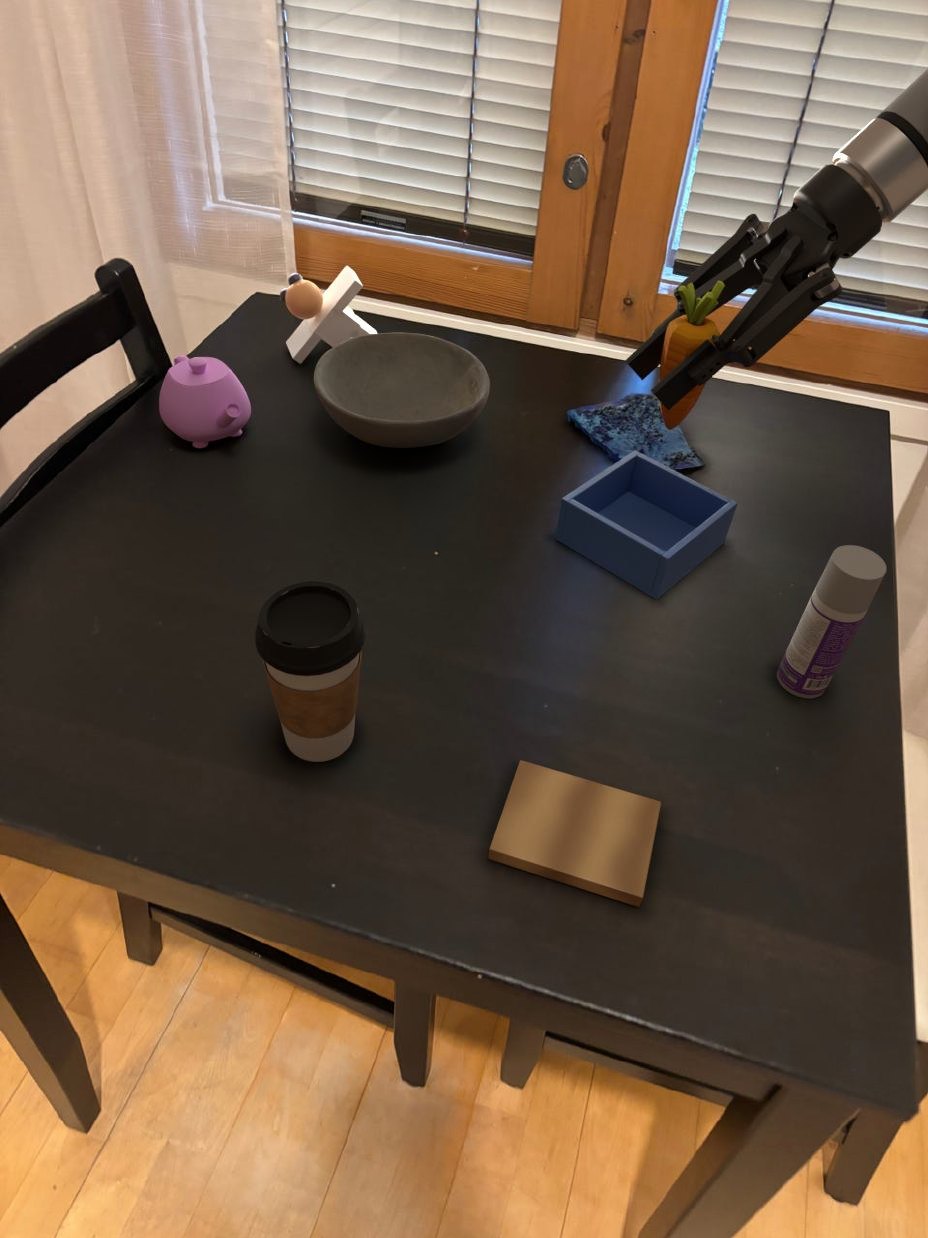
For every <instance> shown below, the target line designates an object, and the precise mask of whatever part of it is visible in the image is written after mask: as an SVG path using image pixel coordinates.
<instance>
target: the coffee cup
mask: <svg viewBox="0 0 928 1238" xmlns="http://www.w3.org/2000/svg"><path fill="white" fill-rule="evenodd" d="M254 631H255V635H254V636H255V638H254V639H255V641H254V643H255V647H256V651H257V653H258V654H259V656H260V658H261V659H262V664H263V668H264V671H265V675H266V678H267V681H268V685H269V688H270V691H271V695H272V698H273V703H274V706H275V708H276V711H277V715H278V719H279V721H280V724H281V728H282V732H283V737H284V740H285V744H286V746H287V747H288V749H289V751H290V752H291V753H292V754H293V755H294V756H296V757H298V758H299V759H300V760H304V761H307V762H311V763H320V762H327V761H333V760H334V759H336V758H338V757H340V756H341V755H342V754H344V753H345V752H346V751H347V750H348V749H349V747H350V746H351V744H352V743H353V739H354V736H355V727H356V726H355V725H356V723H355V722H356V711H357V703H358V695H359V693H358V692H359V687H360V685H359V683H360V674H361V665H362V656H363V654H362V649H363V647H364V644H365V641H366V628H365V622H364V619H363V616H362V614H361V612H360V611H359V607H358V605H357V602H356V600H355V598H354V597H353V596H352V595H351V593H350V592H348V591H347V590H346V589H344V588H342V587H341V586H339V585H337V584H334V583H331V582H326V581H318V580H309V581H302V582H301V581H300V582H297V583H293V584H290V585H287V586H285V587H283V588H281V589H279V590H278V591H276V592H275V593H273V594H272V595H270V596H269V598H267V599H266V601H264V603H263V605H262V606H261V607H260V609H259V613H258V618H257V624H256V627H255V630H254Z"/></svg>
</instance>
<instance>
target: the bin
mask: <svg viewBox="0 0 928 1238" xmlns="http://www.w3.org/2000/svg"><path fill="white" fill-rule="evenodd" d="M738 504H739V503H738V501H737V502H736V501H734V500H733V499H731V498H729V497H727V496H725V495H723V494H721V493H719V492H717V491H715V490H713V489H711V488H709V487H707V486H705V485H704V484H701V483H700V482H698V481H696V480H694V479H692V478H690V477H689V476H686V475H684V474H682V473H681V472H678V471H677V470H672V469H671V468H669V467H667V466H665V465H663V464H661V463H659V462H657V461H655V460H653V459H651V458H649V457H647V456H645V455H643V454H641V453H639V452H637V451H633V452H632V453H630V454H629V455H627V456H626V457H624V458H623V459H621V460H620V461H618V462H615V463H613V464H611V466H609V467H607V468H606V469H604V470H603V471H601V472H599V473H598V474H596V475H595V476H594V477H593V478H592V477H591V479H589V480H588V481H586V482H585V483H583V484H581V485H580V486H579V487H577V488H575V489H574V490H573V491H571V492H570V493H568V494H567V495H565V496H563V497H562V498H561V502H560V509H559V516H558V520H557V526H556V532H555V538H554V540H556V541H558V542H560V543H561V544H563V545H565V546H566V547H568V548H569V549H571V550H573V551H575V552H576V553H578V554H579V555H581V556H583V557H585V558H586V559H588V560H590V562H593V563H595V564H596V565H598V566H600V567H601V568H603V569H605V570H606V571H608V572H609V573H611V574H613V575H614V576H616V577H617V578H619V579H621V580H623V581H624V582H626V583H628V584H630V585H631V586H633V587H634V588H636V589H638V590H639V591H641V592H643V593H645V594H646V595H648V596H649V597H651V598H653V599H654V600H658V599H659V598H661V597H662V596H663V595H664V594H665V593H667V592H668V591H670V589H671V588H672V587H674V586H675V585H676V584H678V583H679V582H680V581H681V580H682V579H683V578H684V577H686V575H688V574H689V573H690V572H691V571H693V570H694V569H695V568H696V567H697V566H698V565H700V564H701V563H702V562H703V561H704V560H706V559H707V558H709V556H710V555H712V554H713V553H714V552H715V551H717V550H718V549H719V548H720V547H722V545H723V544H725V542H726V538H727V536H728V534H729V530H730V527H731V524H732V521H733V518H734V516H735V511H736V509H737V507H738Z"/></svg>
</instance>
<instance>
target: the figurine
mask: <svg viewBox="0 0 928 1238" xmlns="http://www.w3.org/2000/svg"><path fill="white" fill-rule="evenodd" d="M287 282H288V285H289V286H288V287H285V288H283V289H281V291H280V292H279V298H280V301H281V302H282V303H284V304H285V305H286V308H287V311H289V312H290V314H291V315H293V316H294V317H296V318H297V319H300V320H302V321H301V322H300V324H299V325H298V326H297V327H296V329H295V330H293V333H291V335H290V336H289V337H288V339H287V340H286V341H285V344H286V346H287V349H288V351H289V353H290V356H291V358H292V360H294V361H295V362H297V363H298V364H299V365H302V363H303V362H304V361H305V360H306V359H307V357H308V356H309V355H310V354H311V352H312V351H313V350H314V349H315V347H316V346H317V345H318V344H319V343H320V341H321V340H322V341H323V342H325V343H326V344H328V346H330V347H331V348H333V347H335V346H336V345H338V344H340V343H342V342H345V341H347V340H349V339H352V338H355V337H358V336H362V335H367V334H379V333H378V332H377V329H375V328H373V326H371V325H369V324H368V323H367V322H366V321H365V320H363V318H361V317H360V316H358V315H357V314H355V312H354V310H353V309H352V308H350V307H349V305H350V303H351V302H352V301H353V300H354V299H355V297H356V296H357V295H358V293H360V291H361V290H362V289H363V288H364V285H363V283H362V282H361V280H360V278H359V277H358V275H357V273H356V272H355V270H353V269H352V268H351V267H350V266H348V265H345V266H344V268H343V269H342V270H341V271H340V273H338V275H337V277H335V279H334V280H333V281H332V283H331V284H330V285H329V286H328V288H326V290H325V292H323V293H322V291H321V289H320V288H319V286H318V285H317V284H315V283H314V282H312V281H310V280H308V279H304V278H303V276H302V275H301V274H300V273H298V272H293V273H291V274H289V276H288V280H287Z"/></svg>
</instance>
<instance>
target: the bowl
mask: <svg viewBox="0 0 928 1238" xmlns="http://www.w3.org/2000/svg"><path fill="white" fill-rule="evenodd" d="M313 382H314V383H313V384H314V387H315V388H314V389H315V391H316V395H317V396H318V399H319V401H320V402H321V405H322V406H323V408H324V410H325V411H326V412H327V414H328V415H329V416H330V418H332V420H333V421H334V422H335V423H336V424H337V425H338V426H339V427H340V428H342V429H343V430H344V431H345V432H347V433H348V434H350V435H351V436H353V437H354V438H356V439H358V440H360V441H363V442H365V443H368V444H370V445H374V446H378V447H385V448H393V449H415V448H421V447H428V446H434V445H438V444H439V445H440V444H442V443H445V442H447V441H450V440H452V439H453V438H455V437H456V436H458V435H459V434H461V433H462V432H464V431H465V430H466V429H468V428H469V427H470V426H471V425H472V424H473V423H474V422H475V421H476V420H477V419H478V418H479V417H480V414H481V413H482V411H483V409H484V407H485V405H486V404H487V401H488V399H489V395H490V390H491V381H490V376H489V373H488V372H487V369H486V368H485V366H484V365H483V363H482V362H481V360H479V358H477V356H476V355H474V354H473V353H472V352H471V351H470V350H468V349H466V348H464V347H462V346H460V345H458V344H456V343H454V342H451V341H448V340H446V339H443V338H441V337H438V336H433V335H427V334H423V333H414V332H401V331H399V332H381V333H378V334H367V335H362V336H358V337H355V338H353V337H352V339H349V340H347V341H345V342H342V343H340V344H338V345H336V346H335V347H331V348H330V349H328V350H327V351H325V353H323V355H321V357H320V358H319V360H318V361H317V363H316V366H315V369H314V374H313Z"/></svg>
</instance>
